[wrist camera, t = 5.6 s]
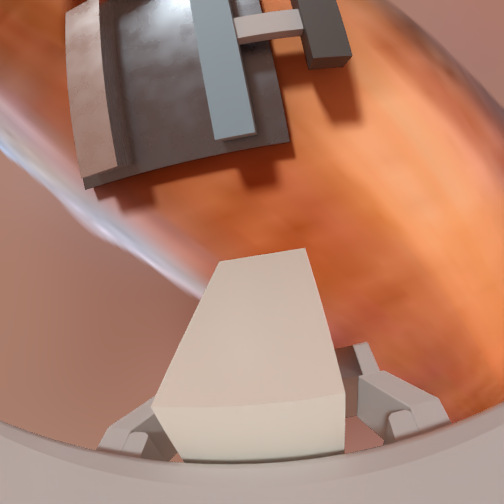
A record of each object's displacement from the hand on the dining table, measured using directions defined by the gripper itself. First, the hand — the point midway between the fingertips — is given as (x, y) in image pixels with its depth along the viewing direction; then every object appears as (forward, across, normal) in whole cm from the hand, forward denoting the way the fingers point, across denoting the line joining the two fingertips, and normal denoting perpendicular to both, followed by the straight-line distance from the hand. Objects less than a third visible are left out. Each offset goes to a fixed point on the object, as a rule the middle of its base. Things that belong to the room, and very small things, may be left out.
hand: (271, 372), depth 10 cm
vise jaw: (+18, -3, -18) cm, 25 cm away
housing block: (+4, 0, 0) cm, 4 cm away
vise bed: (+19, +7, -18) cm, 27 cm away
